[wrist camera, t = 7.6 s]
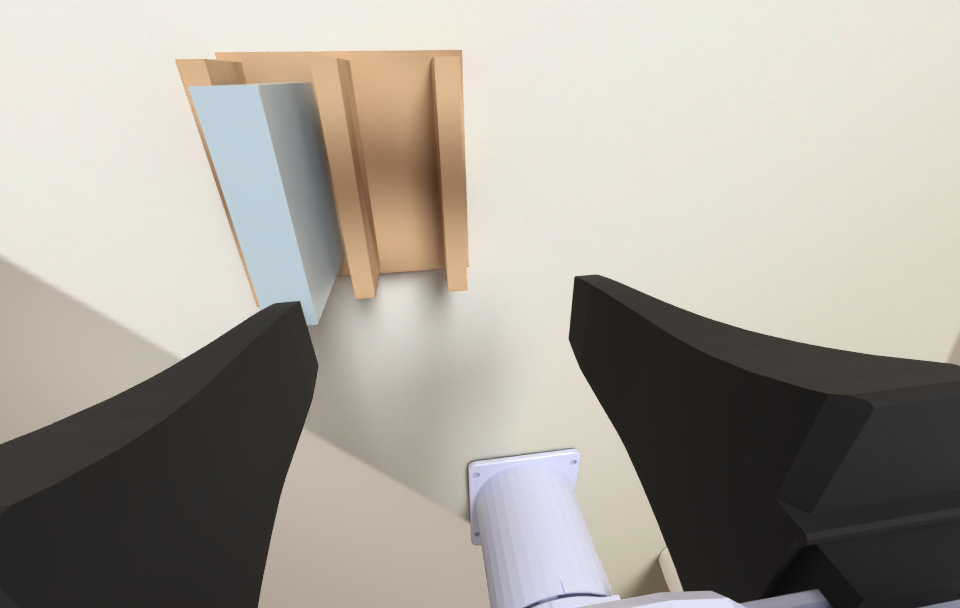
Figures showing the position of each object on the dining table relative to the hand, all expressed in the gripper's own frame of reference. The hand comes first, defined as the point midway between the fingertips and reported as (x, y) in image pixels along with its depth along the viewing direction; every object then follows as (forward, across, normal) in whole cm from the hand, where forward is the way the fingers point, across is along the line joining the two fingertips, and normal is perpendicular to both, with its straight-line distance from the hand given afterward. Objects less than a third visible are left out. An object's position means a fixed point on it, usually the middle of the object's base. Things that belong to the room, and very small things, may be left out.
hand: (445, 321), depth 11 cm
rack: (+10, +3, -2) cm, 10 cm away
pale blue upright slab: (+9, +5, -2) cm, 10 cm away
